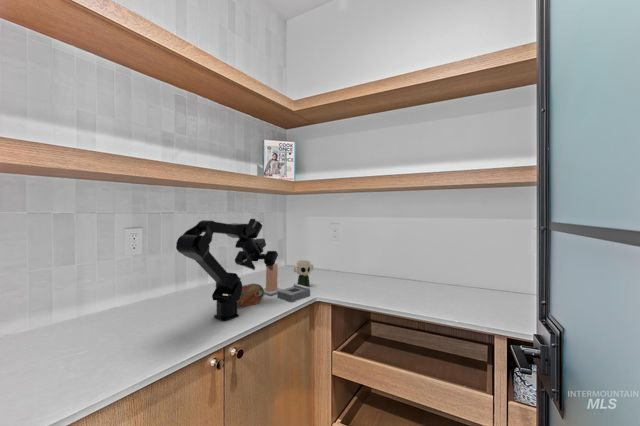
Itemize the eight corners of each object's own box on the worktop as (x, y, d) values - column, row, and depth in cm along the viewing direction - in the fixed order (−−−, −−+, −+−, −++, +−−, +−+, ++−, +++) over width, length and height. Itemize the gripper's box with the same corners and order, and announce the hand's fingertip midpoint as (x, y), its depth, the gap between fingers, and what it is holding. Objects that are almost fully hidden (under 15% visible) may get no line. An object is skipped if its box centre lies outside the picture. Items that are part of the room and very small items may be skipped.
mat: (270, 296, 125) (270, 293, 125) (258, 292, 131) (258, 290, 131) (285, 291, 132) (285, 289, 132) (272, 288, 138) (272, 286, 138)
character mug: (296, 289, 136) (296, 263, 135) (291, 286, 142) (291, 261, 142) (316, 287, 141) (316, 261, 141) (309, 283, 147) (310, 259, 147)
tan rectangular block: (272, 291, 129) (272, 265, 129) (266, 290, 130) (266, 264, 130) (277, 289, 133) (277, 263, 133) (271, 288, 134) (271, 262, 134)
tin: (229, 310, 107) (229, 289, 107) (226, 308, 109) (226, 287, 109) (264, 302, 116) (264, 282, 116) (260, 300, 119) (260, 281, 119)
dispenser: (291, 302, 117) (291, 292, 117) (277, 297, 123) (277, 288, 123) (310, 295, 126) (310, 286, 126) (296, 291, 132) (296, 283, 132)
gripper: (275, 232, 117) (287, 255, 126) (238, 233, 122) (252, 255, 132) (266, 252, 109) (279, 275, 119) (227, 252, 115) (243, 274, 125)
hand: (263, 269), depth 124 cm, fingers open, 9 cm apart
